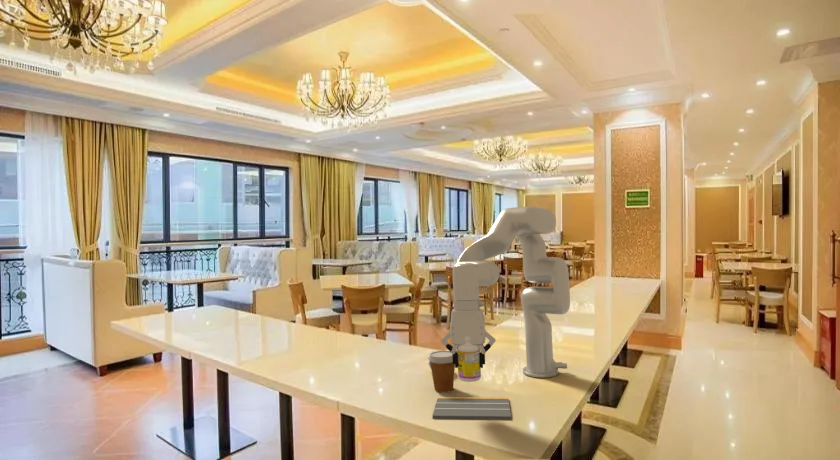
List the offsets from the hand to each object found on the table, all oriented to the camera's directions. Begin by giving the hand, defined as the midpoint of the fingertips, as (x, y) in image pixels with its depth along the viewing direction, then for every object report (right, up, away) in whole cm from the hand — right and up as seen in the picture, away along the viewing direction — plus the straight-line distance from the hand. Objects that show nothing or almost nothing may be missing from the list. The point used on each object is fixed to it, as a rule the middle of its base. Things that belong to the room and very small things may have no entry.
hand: (469, 366), depth 131 cm
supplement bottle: (0, -4, 0) cm, 4 cm away
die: (-7, -15, +39) cm, 43 cm away
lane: (+1, -14, +3) cm, 14 cm away
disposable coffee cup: (-6, -14, +21) cm, 26 cm away
